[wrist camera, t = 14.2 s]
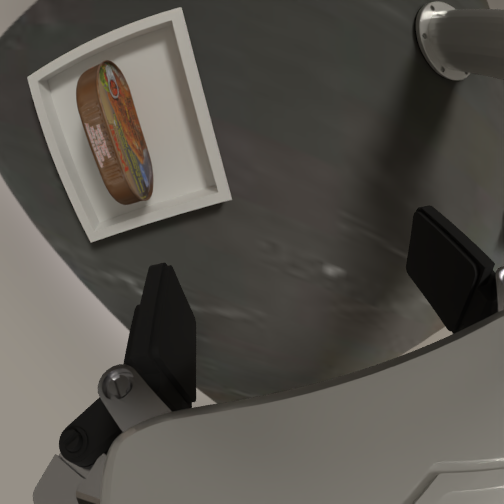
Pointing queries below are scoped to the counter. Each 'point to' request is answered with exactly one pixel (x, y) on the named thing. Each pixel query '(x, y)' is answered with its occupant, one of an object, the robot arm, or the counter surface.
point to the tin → (115, 133)
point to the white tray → (150, 118)
